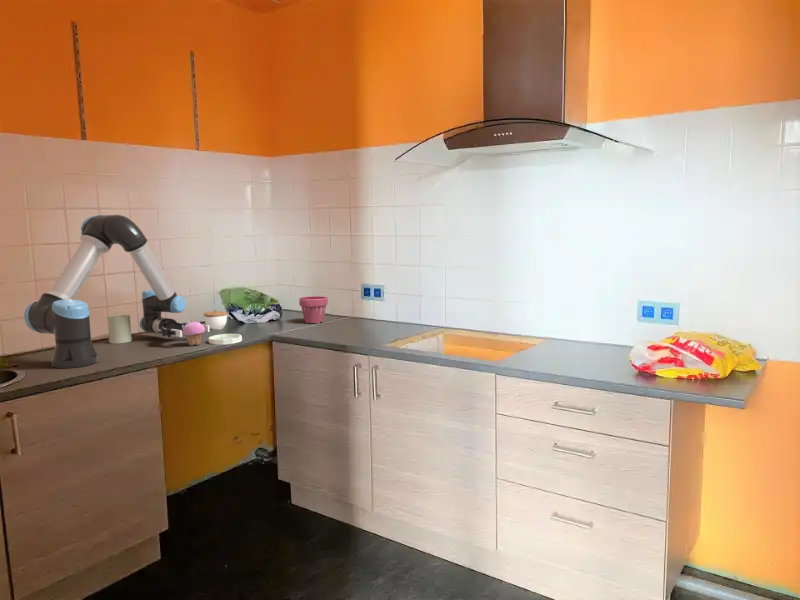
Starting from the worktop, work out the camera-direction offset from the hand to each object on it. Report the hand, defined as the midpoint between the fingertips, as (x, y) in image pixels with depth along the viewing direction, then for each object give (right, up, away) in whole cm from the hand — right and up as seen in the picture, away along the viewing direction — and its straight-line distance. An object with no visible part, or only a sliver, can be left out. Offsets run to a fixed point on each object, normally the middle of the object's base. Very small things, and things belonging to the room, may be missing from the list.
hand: (195, 331), depth 253 cm
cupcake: (-1, -6, +1) cm, 6 cm away
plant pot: (+43, +2, +53) cm, 68 cm away
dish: (+11, -5, +7) cm, 14 cm away
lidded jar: (-3, -1, +39) cm, 39 cm away
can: (-36, -5, +11) cm, 38 cm away
